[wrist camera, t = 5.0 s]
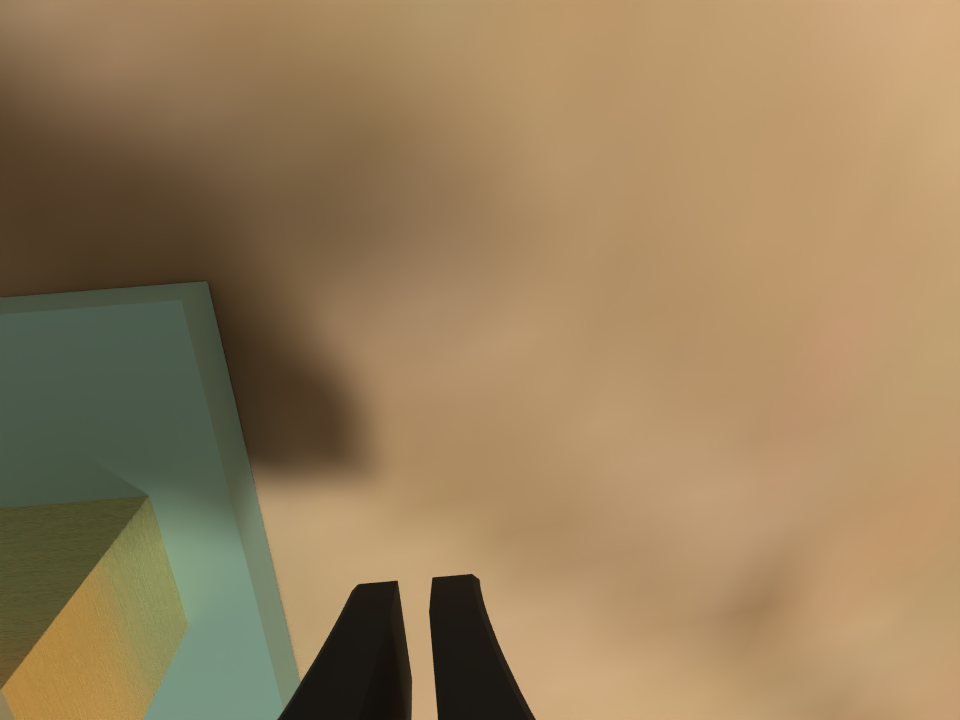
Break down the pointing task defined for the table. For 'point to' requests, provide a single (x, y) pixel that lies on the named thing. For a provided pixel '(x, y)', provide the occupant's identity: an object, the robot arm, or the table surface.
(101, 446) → the board
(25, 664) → the tan stepped block
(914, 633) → the table surface
